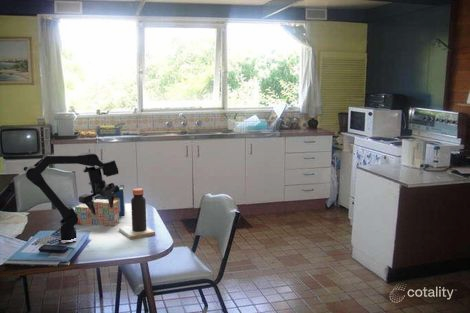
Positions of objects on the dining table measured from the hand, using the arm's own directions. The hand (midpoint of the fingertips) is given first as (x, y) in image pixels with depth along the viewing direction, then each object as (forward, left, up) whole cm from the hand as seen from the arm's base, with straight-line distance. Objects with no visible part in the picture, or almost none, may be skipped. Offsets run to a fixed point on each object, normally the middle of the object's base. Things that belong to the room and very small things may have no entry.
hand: (103, 211), depth 215 cm
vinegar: (+16, -4, -11) cm, 20 cm away
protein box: (+15, +35, -13) cm, 40 cm away
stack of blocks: (+4, +22, -13) cm, 26 cm away
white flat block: (+15, -3, -12) cm, 20 cm away
